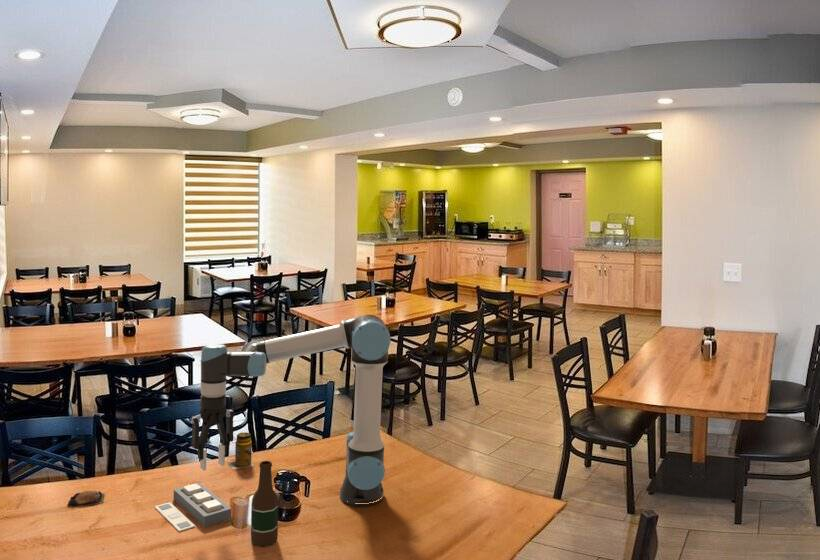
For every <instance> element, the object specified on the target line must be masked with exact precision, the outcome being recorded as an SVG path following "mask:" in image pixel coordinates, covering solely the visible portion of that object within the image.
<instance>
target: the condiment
mask: <svg viewBox="0 0 820 560" xmlns="http://www.w3.org/2000/svg"><path fill="white" fill-rule="evenodd" d="M252 442H253V441H252V435H251V433H250V432H239V433H238V434H236V441H235V448H234V449H235V452H234V453H235V454H234V455H235V456H234V458H235V459H234V461H232V462H231V461H229V462H227V465H228V466H229V467H230V469H232V470H239V469H246V468H251V467H255V464H254V463H253V462H252V456H253V455H252V452H253V451H252V446H253V443H252Z"/></svg>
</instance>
